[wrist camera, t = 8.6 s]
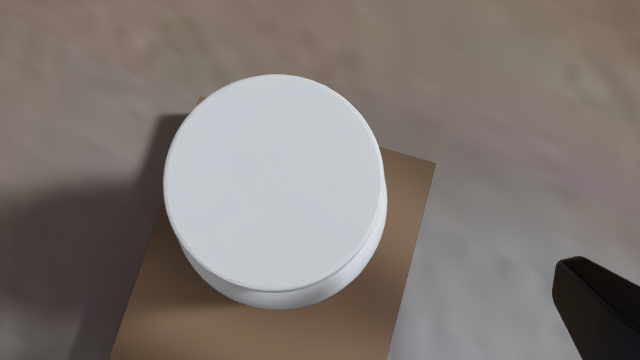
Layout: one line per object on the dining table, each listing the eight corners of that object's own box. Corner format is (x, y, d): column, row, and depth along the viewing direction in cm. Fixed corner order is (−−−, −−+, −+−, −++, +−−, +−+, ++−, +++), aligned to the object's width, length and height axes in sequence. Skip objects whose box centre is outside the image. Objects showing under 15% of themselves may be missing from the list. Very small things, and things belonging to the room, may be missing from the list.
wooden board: (353, 455, 21) (357, 473, 19) (116, 383, 21) (96, 393, 19) (425, 172, 23) (436, 163, 21) (209, 111, 24) (199, 96, 22)
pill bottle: (303, 331, 20) (294, 383, 10) (187, 240, 21) (74, 206, 11) (391, 211, 21) (461, 153, 11) (278, 127, 21) (249, 1, 12)
